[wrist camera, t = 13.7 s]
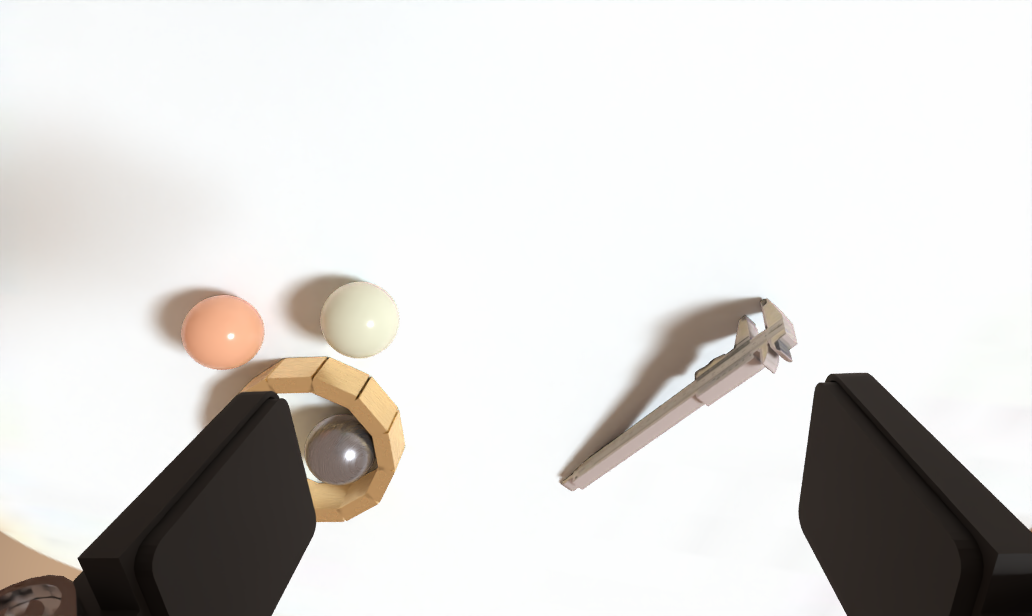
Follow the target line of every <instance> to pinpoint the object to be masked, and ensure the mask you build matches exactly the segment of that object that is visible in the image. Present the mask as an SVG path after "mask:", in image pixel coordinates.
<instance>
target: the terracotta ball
mask: <svg viewBox="0 0 1032 616" xmlns="http://www.w3.org/2000/svg"><path fill="white" fill-rule="evenodd" d="M181 337H182V342H183V345H184V348H185V350H186V351H187V353H188V354H189V355H190V356H191V357H192V358H193V359H194V360H195V361H196V362H198V363H199V364H201V365H203V366H205V367H208V368H211V369H217V370H227V369H233V368H237V367H239V366H242V365H244V364H245V363H247V362H248V361H250V360H251V359H252V358H253V357H254V356H255V355H256V354H257V353H258V351H259V350H260V348H261V346H262V343H263V340H264V323H263V320H262V318H261V316H260V314H259V313H258V311H257V310H256V309H255V308H254V307H253V306H252V305H251V304H250V303H248V302H247V301H245V300H243V299H241V298H238V297H234V296H228V295H219V296H213V297H209V298H207V299H204V300H202V301H200V302H199V303H197V304H196V305H195V306H194V307H193V308H192V309H191V310H190V311H189V312H188V313H187V315H186V317H185V319H184V321H183V324H182V329H181Z"/></svg>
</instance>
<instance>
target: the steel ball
mask: <svg viewBox="0 0 1032 616" xmlns="http://www.w3.org/2000/svg"><path fill="white" fill-rule="evenodd" d="M375 457H376V453H375V448H374V443H373V438H372V436H371V434H370V433H369V432H368V431H367V430H366V429H365V428H364V426H363V425H362V424H361V423H360V422H359V421H358V419H357V418H356V417H355V416H353V415H348V414H338V415H333V416H330V417H328V418H326V419H324V420H322V421H321V422H319V423H318V424H317V425H316V426H315V427H314V428H313V429H312V431H311V432H310V434H309V436H308V438H307V441H306V444H305V460H306V463H307V466H308V468H309V470H310V471H311V472H312V474H313V475H314V476H315V477H316V478H318V479H319V480H321V481H322V482H324V483H327V484H330V485H346V484H350V483H353V482H355V481H357V480H359V479H360V478H361V477H363V476H364V475H365V474H366V473H367V472H368V471H369V469H370V468H371V466H372V465H373V463H374V460H375Z"/></svg>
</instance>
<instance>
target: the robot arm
mask: <svg viewBox="0 0 1032 616" xmlns="http://www.w3.org/2000/svg"><path fill="white" fill-rule="evenodd" d="M799 521H800V525H801V528H802V531H803V533H804V535H805V537H806V539H807V541H808V542H809V544H810V546H811V548H812V550H813V552H814V554H815V556H816V558H817V559H818V561H819V563H820V565H821V567H822V569H823V571H824V573H825V575H826V576H827V578H828V580H829V582H830V584H831V586H832V588H833V590H834V592H835V594H836V595H837V597H838V599H839V601H840V603H841V605H842V607H843V609H844V611H845V612H846V614H847V616H1032V532H1031V531H1030V530H1029V529H1028V528H1027V527H1026V526H1025V525H1024V524H1022V523H1021V522H1020V521H1019V520H1018V519H1017V518H1016V517H1015V516H1014V515H1013V514H1012V513H1011V512H1010V511H1009V510H1008V509H1007V508H1006V507H1005V506H1004V505H1003V504H1002V503H1001V502H1000V501H999V500H998V499H997V498H996V497H995V496H994V495H993V494H992V493H991V492H990V491H989V490H988V489H987V488H986V487H985V486H984V485H983V484H982V483H981V482H980V481H979V480H978V479H977V478H976V477H975V476H974V475H973V474H971V473H970V472H969V471H968V470H967V469H966V468H965V467H964V466H963V465H962V464H961V463H960V462H959V461H958V460H957V459H956V458H955V457H954V456H953V455H952V454H951V453H950V452H949V451H948V450H947V449H946V448H945V447H944V446H943V445H942V444H941V443H940V442H939V441H938V440H937V439H936V438H935V437H934V436H933V435H932V434H931V433H930V432H929V431H928V430H927V429H926V428H925V427H924V426H923V425H922V424H920V423H919V422H918V421H917V420H916V419H915V418H914V417H913V416H912V415H911V414H910V413H909V412H908V411H907V410H906V409H905V408H904V407H903V406H902V405H901V404H900V403H899V402H898V401H897V400H896V399H895V398H894V397H893V396H892V395H891V394H890V393H889V392H888V391H887V390H886V389H885V388H884V387H883V386H882V385H881V384H880V383H879V382H878V381H877V380H876V379H875V378H874V377H873V376H871V375H870V374H868V373H844V374H830V375H829V376H828V377H827V379H826V381H825V383H818V384H817V386H816V387H815V392H814V399H813V406H812V413H811V421H810V428H809V436H808V443H807V450H806V458H805V465H804V472H803V480H802V487H801V494H800V502H799ZM315 528H316V513H315V509H314V505H313V501H312V497H311V493H310V489H309V485H308V481H307V477H306V473H305V469H304V465H303V461H302V457H301V453H300V449H299V445H298V441H297V437H296V433H295V429H294V425H293V421H292V417H291V413H290V409H289V405H288V403H287V401H286V400H285V399H283V398H280V399H279V396H278V395H277V393H275V392H274V391H253V392H241V393H239V394H238V395H237V396H236V397H235V398H234V399H233V400H232V401H231V402H230V403H229V404H228V405H227V406H226V407H225V408H224V409H223V410H222V411H221V412H220V413H219V414H218V415H217V416H216V417H215V418H214V419H213V420H212V421H211V422H210V423H209V424H208V425H207V426H206V427H205V428H204V429H203V430H202V431H201V432H200V433H199V434H198V435H197V436H196V437H195V439H194V440H193V441H192V442H191V443H190V444H189V445H188V446H187V447H186V448H185V449H184V450H183V451H182V452H181V453H180V454H179V455H178V456H177V457H176V458H175V459H174V460H173V461H172V462H171V463H170V464H169V465H168V466H167V467H166V468H165V469H164V470H163V471H162V472H161V473H160V474H159V475H158V476H157V477H156V478H155V479H154V480H153V481H152V482H151V484H150V485H149V486H148V487H147V488H146V489H145V490H144V491H143V492H142V493H141V494H140V495H139V496H138V497H137V498H136V499H135V500H134V501H133V502H132V503H131V504H130V505H129V506H128V507H127V508H126V509H125V510H124V511H123V512H122V513H121V514H120V515H119V516H118V517H117V518H116V519H115V520H114V521H113V522H112V523H111V524H110V525H109V526H108V527H107V529H106V530H105V531H104V532H103V533H102V534H101V535H100V536H99V537H98V538H97V539H96V540H95V541H94V542H93V543H92V544H91V545H90V546H89V547H88V548H87V549H86V550H85V551H84V552H83V553H82V554H81V555H80V556H79V557H78V560H79V563H80V565H81V567H82V569H83V571H82V572H81V574H80V575H79V576H78V577H77V578H76V579H75V580H74V581H73V582H72V581H71V580H69V579H67V578H65V577H64V576H55V575H47V576H41V577H35V578H30V579H27V580H24V581H21V582H19V583H16V584H13V585H10V586H8V587H6V588H4V589H2V590H0V616H272V614H273V612H274V610H275V608H276V606H277V604H278V602H279V600H280V598H281V596H282V594H283V593H284V591H285V589H286V587H287V585H288V583H289V581H290V579H291V577H292V575H293V573H294V571H295V570H296V568H297V566H298V564H299V562H300V560H301V558H302V556H303V554H304V552H305V550H306V548H307V547H308V545H309V543H310V541H311V539H312V537H313V535H314V532H315Z"/></svg>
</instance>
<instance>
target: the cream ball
mask: <svg viewBox="0 0 1032 616" xmlns="http://www.w3.org/2000/svg"><path fill="white" fill-rule="evenodd" d="M320 325H321V330H322V333H323V335H324V338H325V339H326V341H327V342H328V344H329V345H330V346H331V347H332V348H333V349H334V350H336V351H337V352H339V353H341V354H342V355H345V356H348V357H351V358H368V357H371V356H374V355H377V354H379V353H381V352H382V351H383V350H385V349H386V348H387V347H388V346H389V345H390V344H391V343H392V341H393V340H394V338H395V336H396V334H397V331H398V328H399V312H398V308H397V306H396V303H395V301H394V300H393V298H392V297H391V296H390V295H389V294H388V293H387V292H386V291H385V290H384V289H382V288H381V287H379V286H377V285H375V284H372V283H368V282H352V283H348V284H345V285H343V286H341V287H339V288H337V289H336V290H335V291H334V292H332V293H331V294H330V296H329V297H328V298H327V300H326V301H325V303H324V305H323V307H322V311H321V316H320Z"/></svg>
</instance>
